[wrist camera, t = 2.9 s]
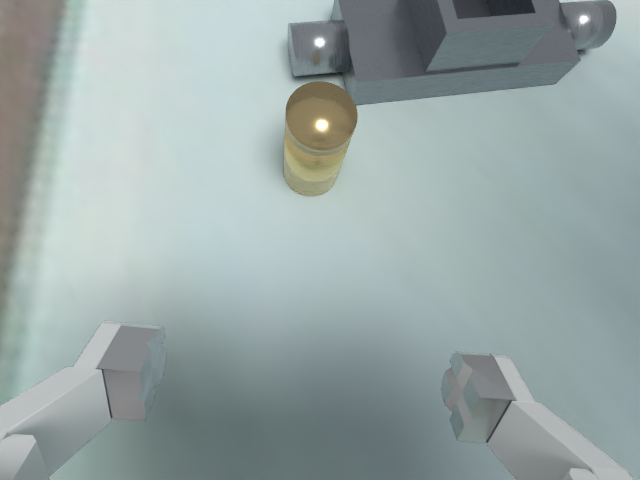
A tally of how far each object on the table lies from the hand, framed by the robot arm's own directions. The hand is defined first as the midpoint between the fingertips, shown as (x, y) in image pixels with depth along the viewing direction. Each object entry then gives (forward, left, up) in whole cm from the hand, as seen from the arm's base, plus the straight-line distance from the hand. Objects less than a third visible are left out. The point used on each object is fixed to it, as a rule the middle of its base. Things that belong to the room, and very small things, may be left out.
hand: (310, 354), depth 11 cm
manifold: (-16, -21, -16) cm, 31 cm away
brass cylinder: (-3, -12, -16) cm, 21 cm away
